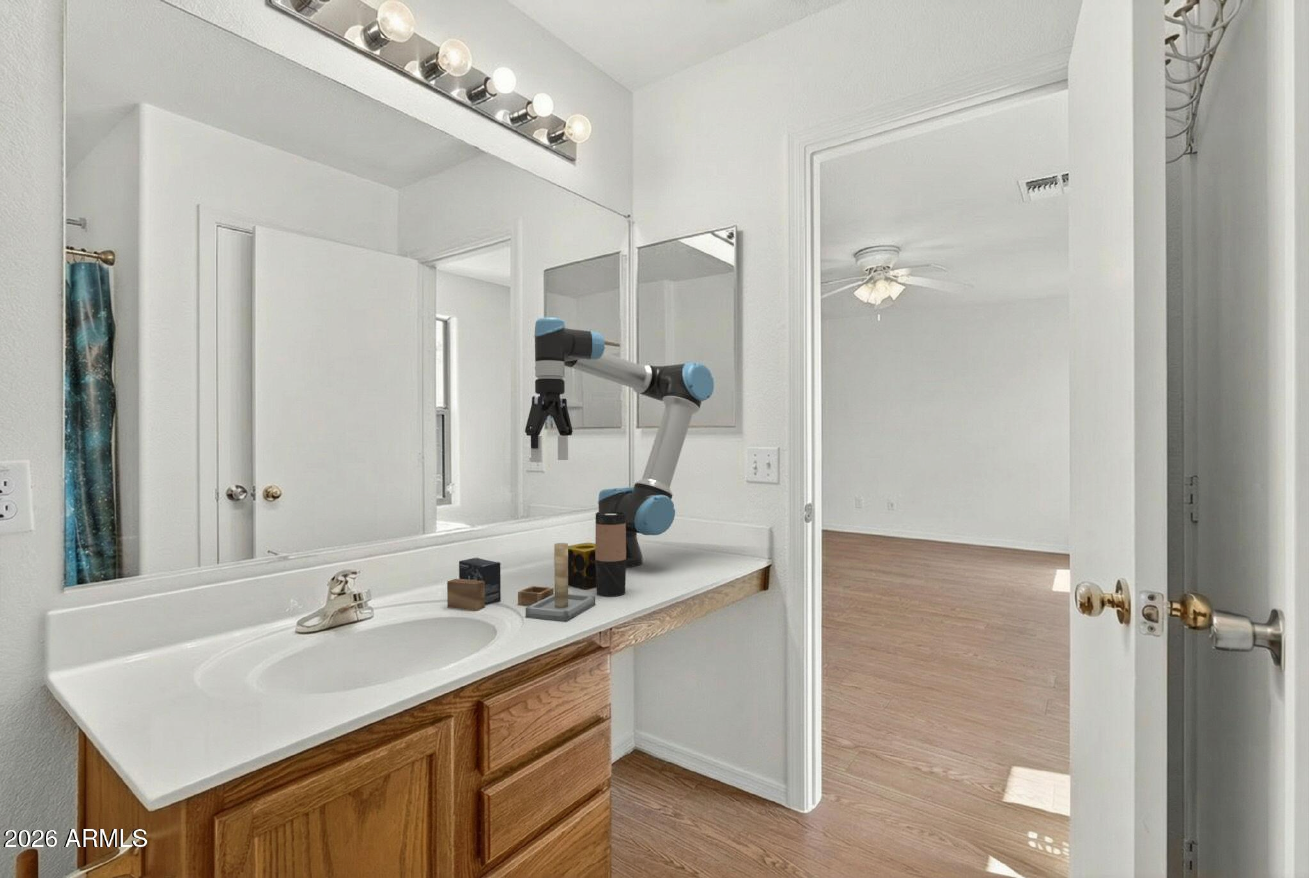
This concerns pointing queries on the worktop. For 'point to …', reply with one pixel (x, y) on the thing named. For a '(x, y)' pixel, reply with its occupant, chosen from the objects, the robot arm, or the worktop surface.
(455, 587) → the wooden block
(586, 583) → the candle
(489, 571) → the box
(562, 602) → the dowel
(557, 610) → the tray
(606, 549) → the travel mug
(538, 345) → the robot arm
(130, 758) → the worktop surface
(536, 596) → the socket
